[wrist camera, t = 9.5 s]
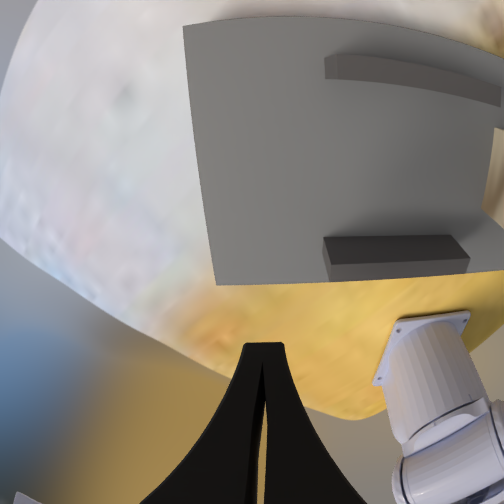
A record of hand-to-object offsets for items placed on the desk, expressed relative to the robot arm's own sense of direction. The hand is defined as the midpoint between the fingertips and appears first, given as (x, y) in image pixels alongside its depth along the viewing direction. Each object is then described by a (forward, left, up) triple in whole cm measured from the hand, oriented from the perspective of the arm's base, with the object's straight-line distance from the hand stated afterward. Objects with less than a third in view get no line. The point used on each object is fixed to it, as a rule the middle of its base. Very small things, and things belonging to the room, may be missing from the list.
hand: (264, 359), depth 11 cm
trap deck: (+5, -12, -9) cm, 16 cm away
